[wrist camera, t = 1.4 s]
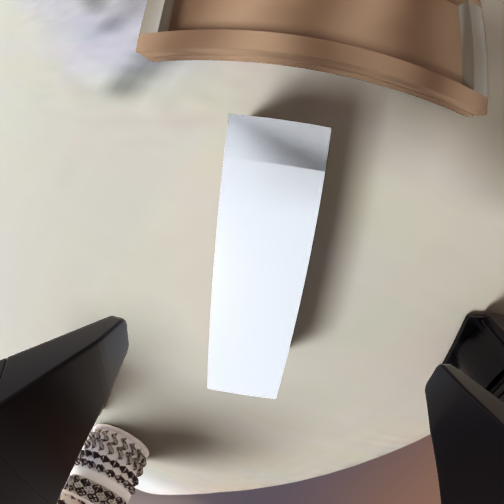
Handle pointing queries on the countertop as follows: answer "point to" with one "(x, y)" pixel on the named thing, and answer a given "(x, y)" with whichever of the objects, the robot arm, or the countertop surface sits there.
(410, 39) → the wooden tray
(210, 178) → the countertop surface
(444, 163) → the countertop surface
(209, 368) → the white tall block
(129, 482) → the decorative candle
